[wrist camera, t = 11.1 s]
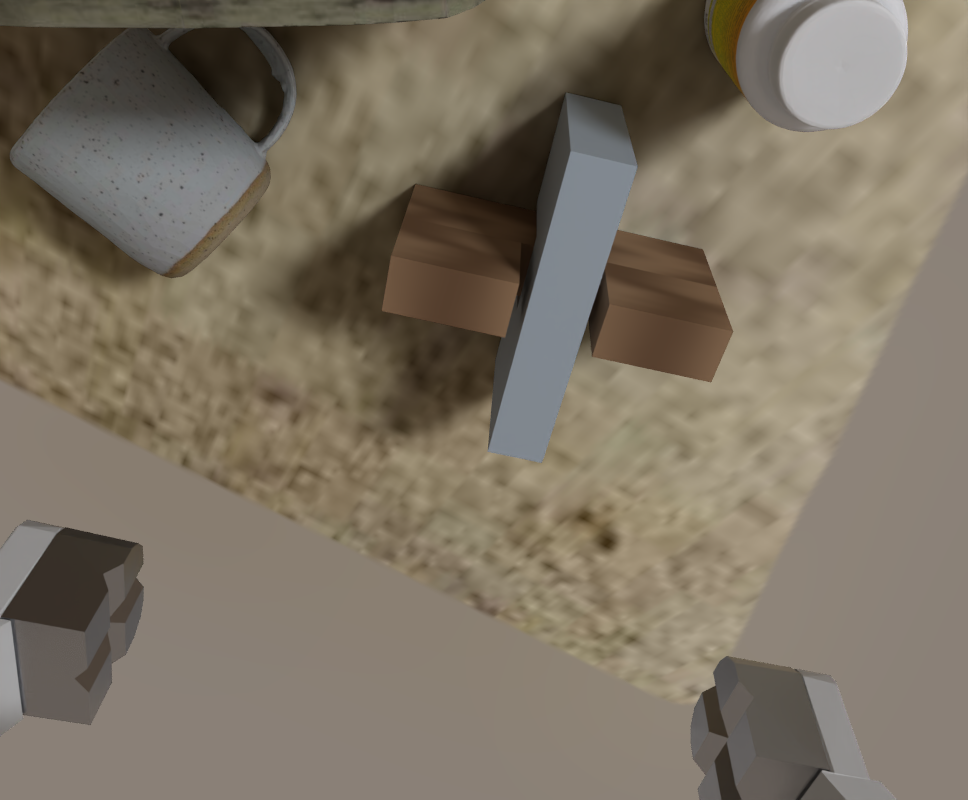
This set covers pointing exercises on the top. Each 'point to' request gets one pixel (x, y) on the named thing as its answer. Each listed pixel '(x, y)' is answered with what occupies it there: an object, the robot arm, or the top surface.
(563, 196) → the slate board
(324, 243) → the top surface
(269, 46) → the ceramic mug
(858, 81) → the supplement bottle
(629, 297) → the walnut board
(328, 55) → the top surface
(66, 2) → the tabletop clock
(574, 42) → the top surface
